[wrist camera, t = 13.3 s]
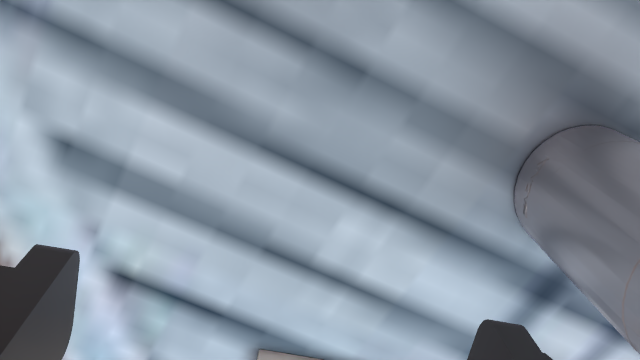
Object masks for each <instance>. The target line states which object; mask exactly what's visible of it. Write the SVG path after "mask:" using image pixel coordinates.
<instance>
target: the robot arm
mask: <svg viewBox="0 0 640 360" xmlns="http://www.w3.org/2000/svg"><path fill="white" fill-rule="evenodd" d="M514 204H515V209H516V214H517V217H518V219H519V221H520V223H521V225H522V227H523V228H524V229H525V230H526V232H527V233H528V234H529V235H530V236H531V238H532V239H533V240H534V241H535V242H536V243H537V244H538V245H539V246H540V247H541V248H542V249H543V250H544V252H545V253H546V254H547V255H548V256H549V257H550V258H551V260H552V261H553V262H554V263H555V264H556V265H557V266H558V267H559V268H560V269H561V270H562V271H563V272H564V274H565V275H566V276H567V277H568V278H569V279H570V280H571V281H572V282H573V283H574V284H575V285H576V287H577V288H578V289H579V290H580V291H581V292H582V293H583V294H584V295H585V296H586V297H587V298H588V299H589V301H590V302H591V303H592V304H593V305H594V306H595V307H596V308H597V309H598V310H599V311H600V312H601V314H602V315H603V316H604V317H605V318H606V319H607V320H608V321H609V322H610V323H611V324H612V325H613V326H614V328H615V329H616V330H617V331H618V332H619V333H620V334H621V335H622V336H623V337H624V338H625V339H626V341H627V342H628V343H629V344H630V345H631V346H632V347H633V348H634V349H635V350H636V351H637V352H638V353H639V354H640V142H638V141H636V140H634V139H632V138H630V137H628V136H626V135H624V134H622V133H620V132H618V131H615V130H613V129H610V128H606V127H602V126H591V125H584V126H579V127H574V128H569V129H567V130H564V131H562V132H559V133H557V134H555V135H554V136H552V137H551V138H549V139H547V140H546V141H544V142H543V143H542V144H541V145H540V146H539V147H538V148H537V149H536V150H534V151H533V152H532V154H531V155H530V157H529V158H528V159H527V161H526V162H525V163H524V165H523V167H522V169H521V171H520V174H519V176H518V179H517V183H516V187H515V198H514ZM79 262H80V257H79V252H78V251H75V250H69V249H63V248H57V247H51V246H45V245H38V244H36V245H35V246H34V247H33V248H32V249H31V250H30V251H29V252H28V253H27V254H26V256H25V257H24V258H23V259H22V260H21V261H20V262H19V264H18V265H17V266H16V267H15V268H13V267H6V266H0V360H62V358H63V356H64V354H65V352H66V349H67V346H68V343H69V340H70V336H71V331H72V326H73V319H74V309H75V300H76V291H77V282H78V272H79ZM467 360H553V359H551V358H550V357H549V356H548V355H547V354H545V353H542V352H541V350H540V349H539V347H538V346H537V344H536V343H535V341H534V340H533V339H532V337H531V336H530V334H529V333H528V331H527V330H526V329H525V327H524V326H522V325H518V324H512V323H506V322H500V321H494V320H484V321H483V322H482V323H481V324H480V326H479V328H478V330H477V333H476V336H475V339H474V342H473V345H472V347H471V350H470V353H469V356H468V359H467Z"/></svg>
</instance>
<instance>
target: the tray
mask: <svg viewBox="0 0 640 360" xmlns="http://www.w3.org/2000/svg"><path fill="white" fill-rule="evenodd" d="M257 360H322V359H316V358H310V357H304V356H298V355H292V354H286V353H280V352H274V351H268V350H262V349H259V352H258V357H257Z"/></svg>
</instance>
